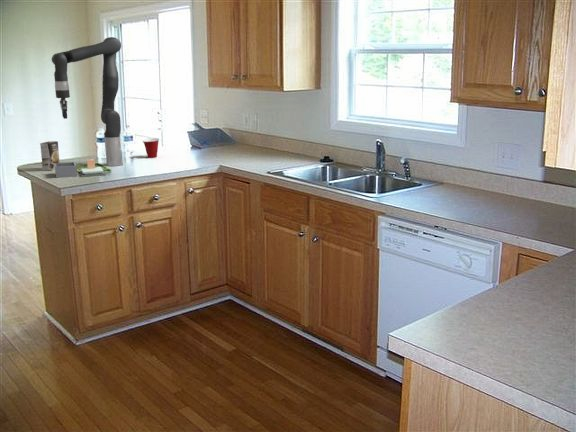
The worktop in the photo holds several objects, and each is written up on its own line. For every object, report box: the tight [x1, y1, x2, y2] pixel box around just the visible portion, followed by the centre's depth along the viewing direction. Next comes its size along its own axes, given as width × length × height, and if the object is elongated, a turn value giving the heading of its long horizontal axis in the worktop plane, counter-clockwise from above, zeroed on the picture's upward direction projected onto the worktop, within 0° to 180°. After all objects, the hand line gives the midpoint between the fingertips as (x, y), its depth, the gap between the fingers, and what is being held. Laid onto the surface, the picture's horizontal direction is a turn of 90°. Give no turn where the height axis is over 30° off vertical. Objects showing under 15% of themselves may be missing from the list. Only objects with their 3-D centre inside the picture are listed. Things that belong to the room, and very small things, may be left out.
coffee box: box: [39, 140, 61, 172], centre depth 363 cm, size 9×6×16 cm
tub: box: [54, 161, 78, 179], centre depth 347 cm, size 11×13×6 cm
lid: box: [80, 158, 104, 175], centre depth 350 cm, size 11×13×7 cm
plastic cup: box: [142, 137, 160, 159], centre depth 402 cm, size 11×11×12 cm
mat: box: [79, 170, 106, 178], centre depth 351 cm, size 13×15×1 cm
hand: (65, 117), depth 357 cm, fingers open, 8 cm apart
